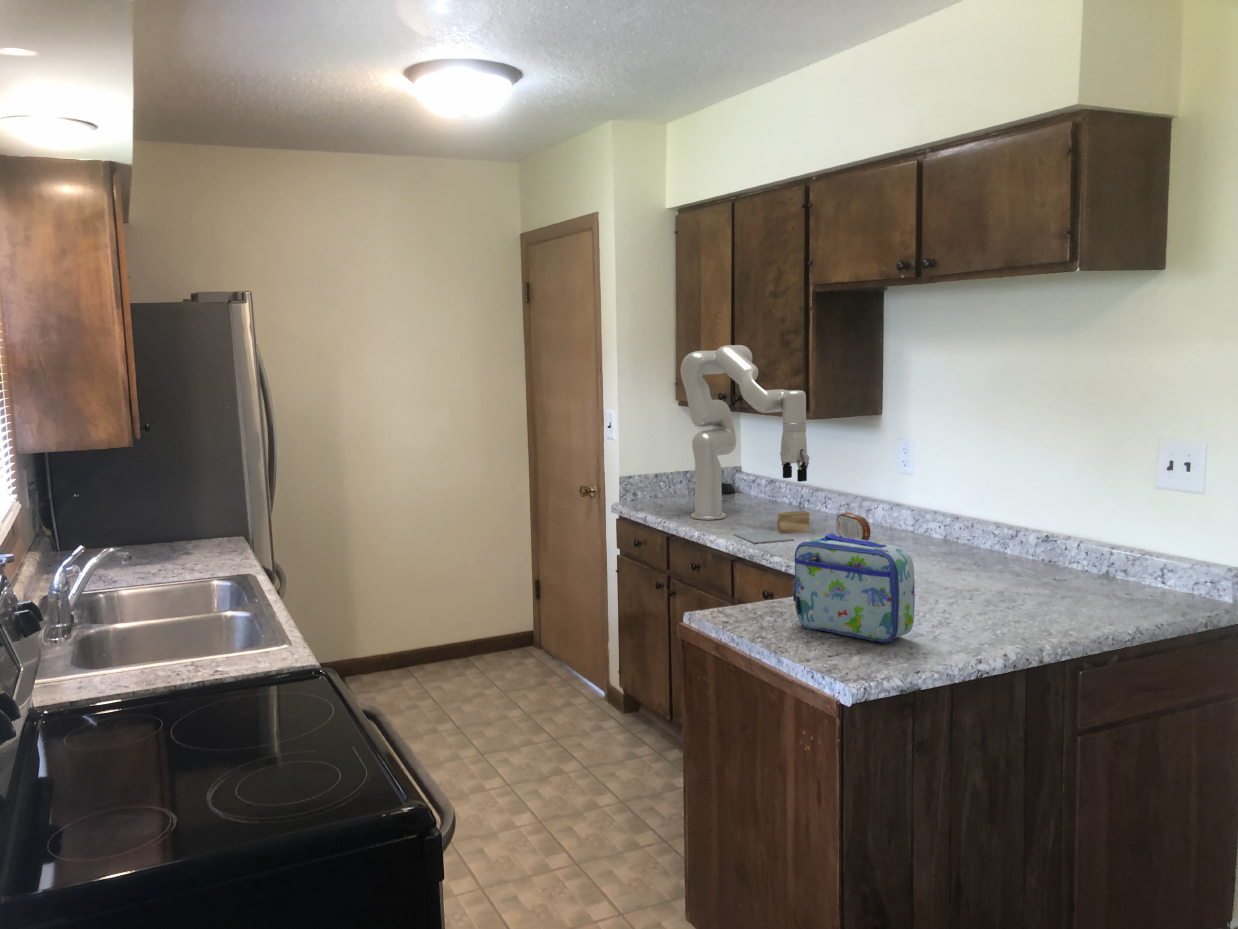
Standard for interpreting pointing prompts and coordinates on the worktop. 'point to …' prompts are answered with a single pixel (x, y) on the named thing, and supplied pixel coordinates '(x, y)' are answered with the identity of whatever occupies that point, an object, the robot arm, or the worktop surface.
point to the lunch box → (854, 588)
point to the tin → (853, 526)
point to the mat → (764, 537)
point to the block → (793, 522)
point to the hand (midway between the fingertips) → (794, 479)
